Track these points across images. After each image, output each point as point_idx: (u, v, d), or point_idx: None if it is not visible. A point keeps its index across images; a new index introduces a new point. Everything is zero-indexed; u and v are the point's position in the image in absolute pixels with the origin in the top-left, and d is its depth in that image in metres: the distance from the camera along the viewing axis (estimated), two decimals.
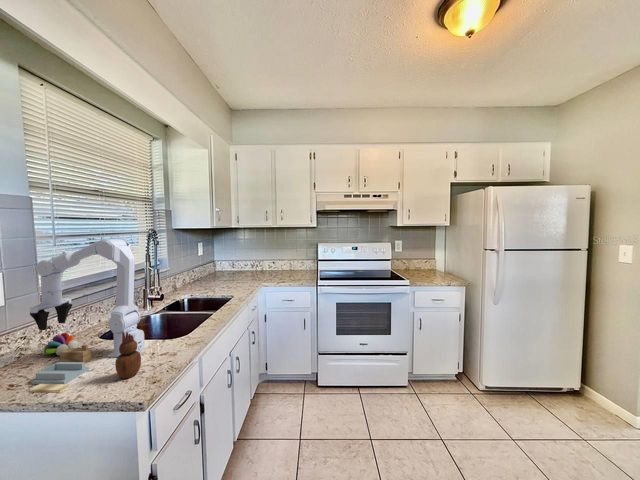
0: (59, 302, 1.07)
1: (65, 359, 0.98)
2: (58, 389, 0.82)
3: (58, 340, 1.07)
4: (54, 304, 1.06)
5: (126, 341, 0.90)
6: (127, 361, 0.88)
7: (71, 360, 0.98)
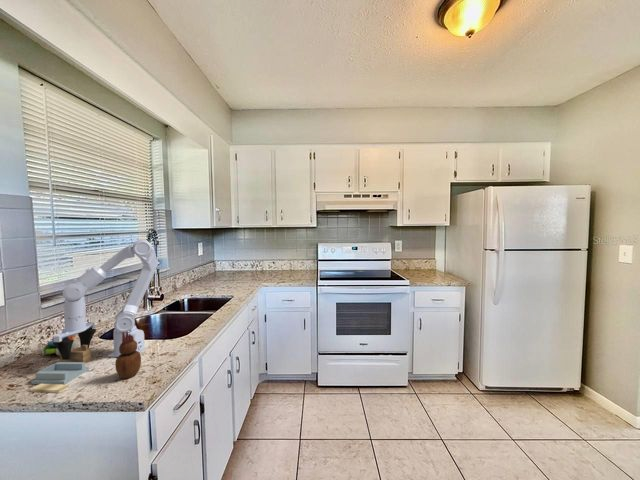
0: (83, 328, 1.00)
1: None
2: (57, 389, 0.82)
3: None
4: (78, 331, 0.98)
5: (126, 341, 0.90)
6: (127, 361, 0.88)
7: (71, 360, 0.98)
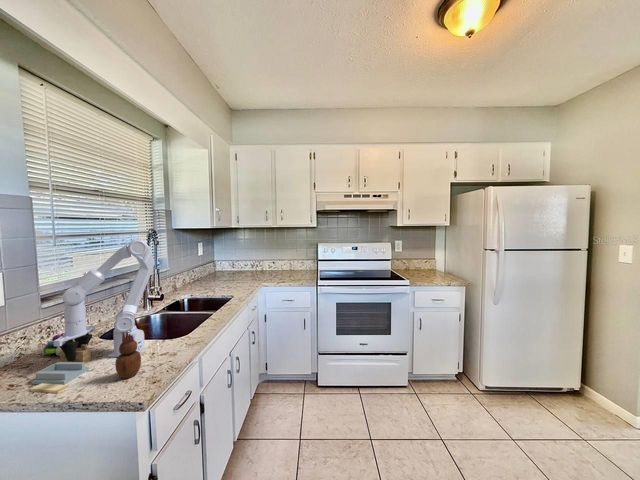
0: (83, 332, 1.00)
1: (65, 359, 0.98)
2: (56, 390, 0.81)
3: None
4: (78, 335, 0.98)
5: (126, 341, 0.90)
6: (127, 361, 0.88)
7: None
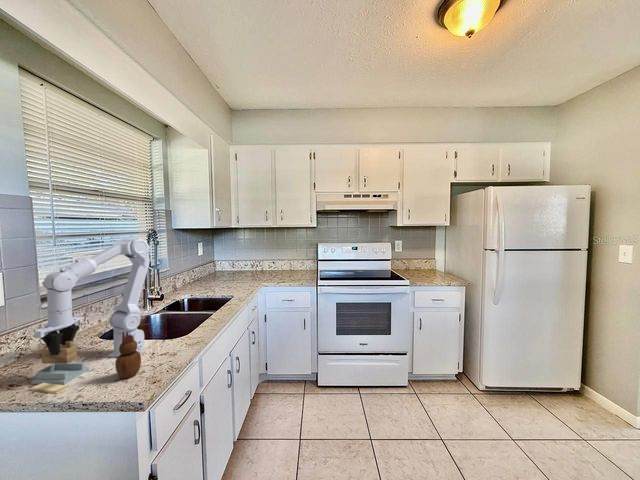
0: (69, 323, 0.89)
1: (47, 357, 0.88)
2: (55, 390, 0.81)
3: None
4: (63, 326, 0.88)
5: (126, 341, 0.90)
6: (127, 361, 0.88)
7: (54, 358, 0.88)
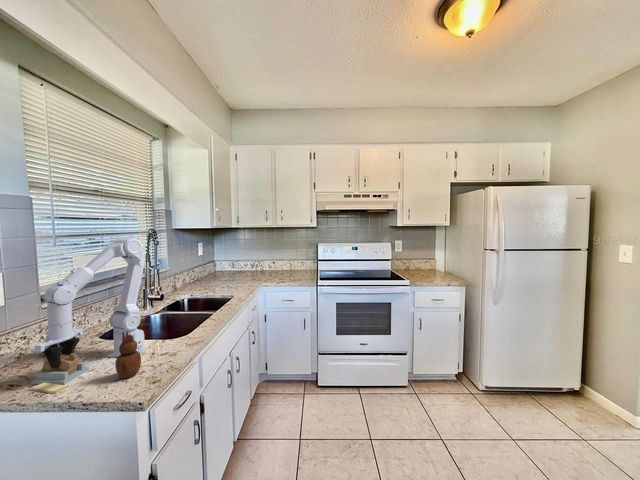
0: (69, 336, 0.90)
1: (49, 365, 0.88)
2: (55, 390, 0.81)
3: None
4: (63, 339, 0.88)
5: (126, 341, 0.90)
6: (127, 361, 0.88)
7: (54, 368, 0.88)
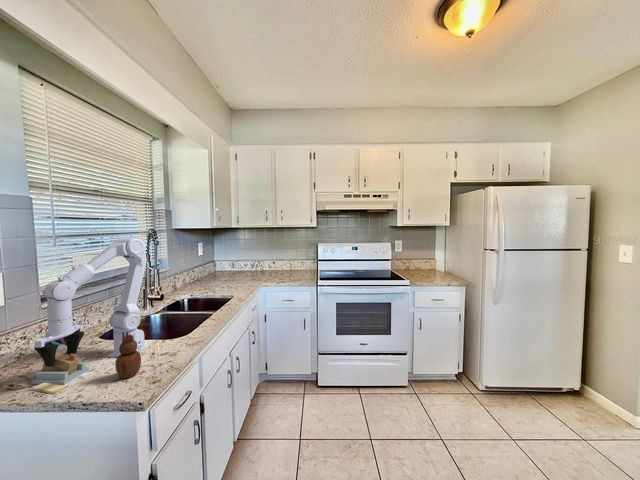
0: (69, 332, 0.90)
1: None
2: (54, 391, 0.81)
3: (57, 340, 1.07)
4: (63, 335, 0.88)
5: (126, 341, 0.90)
6: (127, 361, 0.88)
7: (54, 368, 0.88)
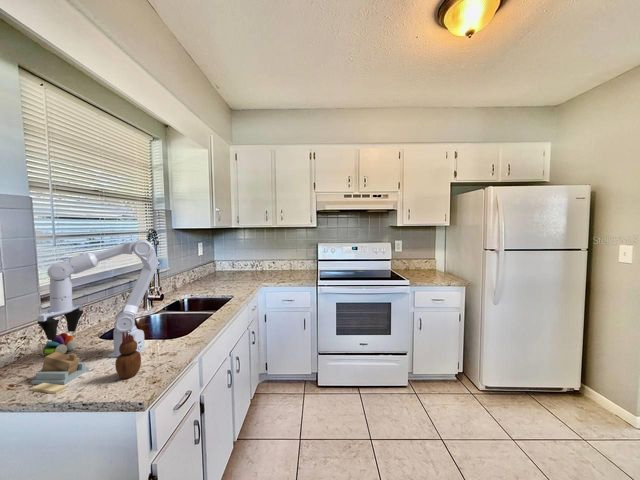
0: (69, 309, 0.97)
1: (49, 365, 0.88)
2: (55, 390, 0.81)
3: (57, 340, 1.07)
4: (64, 311, 0.96)
5: (126, 341, 0.90)
6: (127, 361, 0.88)
7: (54, 368, 0.88)
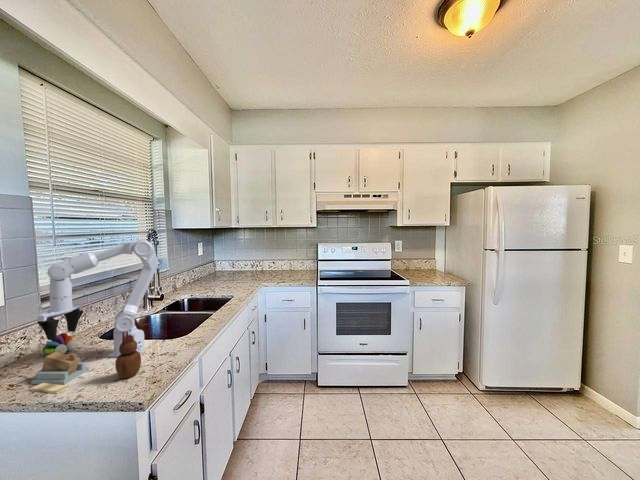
0: (69, 309, 0.97)
1: (49, 365, 0.88)
2: (56, 390, 0.81)
3: (57, 340, 1.07)
4: (64, 311, 0.96)
5: (126, 341, 0.90)
6: (127, 361, 0.88)
7: (54, 368, 0.88)
